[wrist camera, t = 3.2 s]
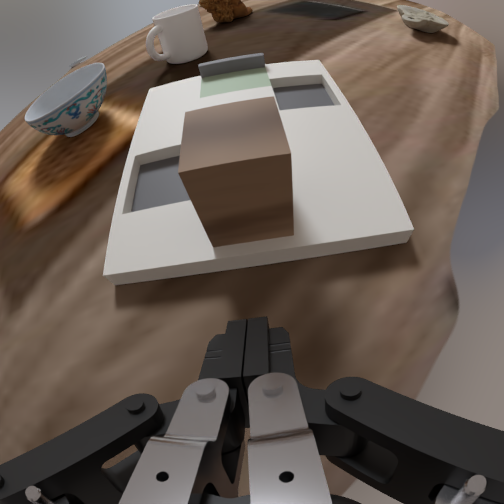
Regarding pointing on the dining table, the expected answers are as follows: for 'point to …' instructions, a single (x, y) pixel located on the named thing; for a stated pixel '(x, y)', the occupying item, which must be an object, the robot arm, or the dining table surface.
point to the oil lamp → (421, 19)
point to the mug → (178, 35)
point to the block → (238, 171)
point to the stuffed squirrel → (225, 9)
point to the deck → (303, 179)
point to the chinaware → (70, 102)
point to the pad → (234, 81)
